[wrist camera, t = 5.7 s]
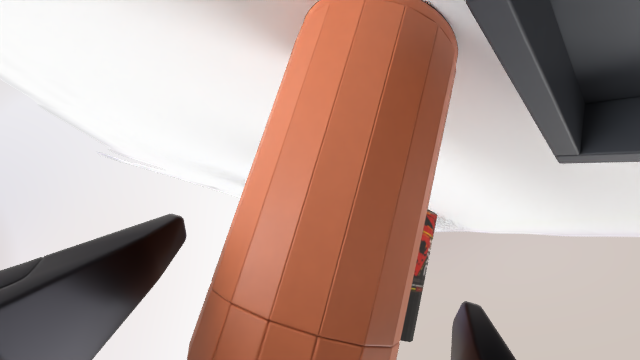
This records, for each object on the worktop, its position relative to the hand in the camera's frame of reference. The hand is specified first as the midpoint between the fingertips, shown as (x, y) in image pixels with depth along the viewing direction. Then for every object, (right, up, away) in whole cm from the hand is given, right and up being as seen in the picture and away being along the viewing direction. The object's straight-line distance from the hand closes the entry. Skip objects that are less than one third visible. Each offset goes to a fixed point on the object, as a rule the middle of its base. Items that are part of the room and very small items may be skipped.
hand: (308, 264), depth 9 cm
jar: (+3, +8, +3) cm, 9 cm away
